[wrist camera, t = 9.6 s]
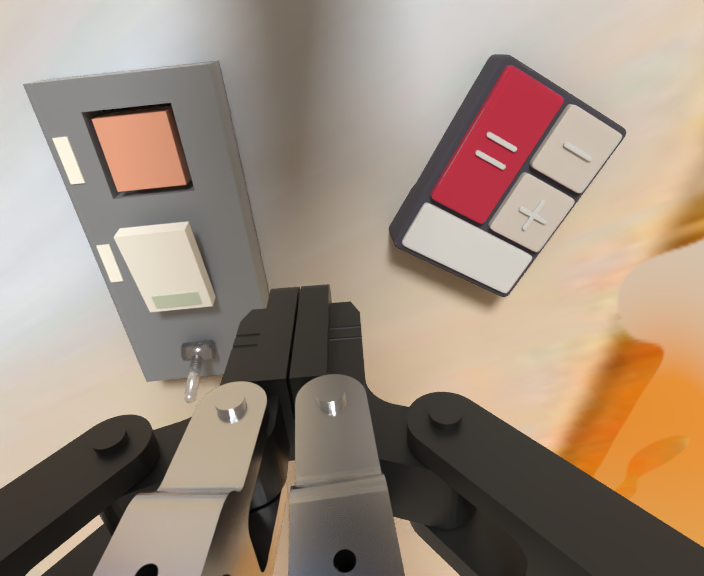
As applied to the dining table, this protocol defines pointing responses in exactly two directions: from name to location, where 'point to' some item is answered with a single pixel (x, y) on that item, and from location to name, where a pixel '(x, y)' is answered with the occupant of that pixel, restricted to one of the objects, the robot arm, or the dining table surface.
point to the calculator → (504, 176)
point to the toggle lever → (195, 364)
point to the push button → (143, 148)
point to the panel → (161, 204)
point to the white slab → (166, 266)
